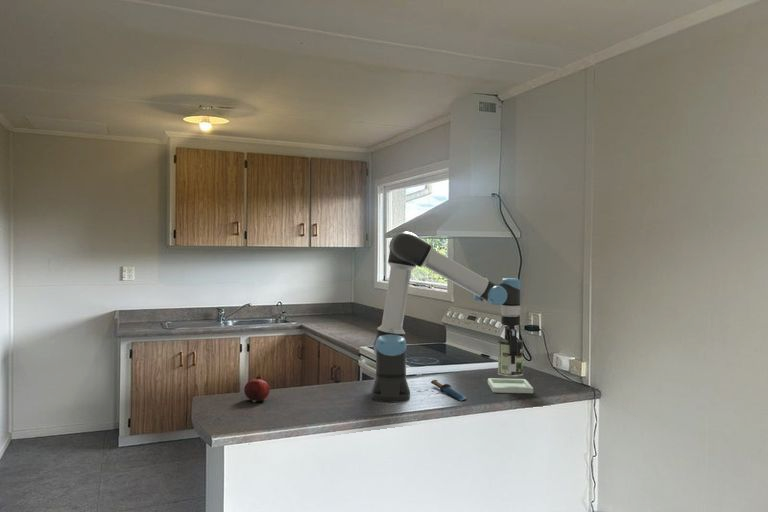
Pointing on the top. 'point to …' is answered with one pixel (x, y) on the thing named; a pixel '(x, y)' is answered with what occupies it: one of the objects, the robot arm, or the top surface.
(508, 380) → the tray
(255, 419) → the top surface
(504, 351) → the coffee can
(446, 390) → the knife
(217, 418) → the top surface
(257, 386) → the fruit
